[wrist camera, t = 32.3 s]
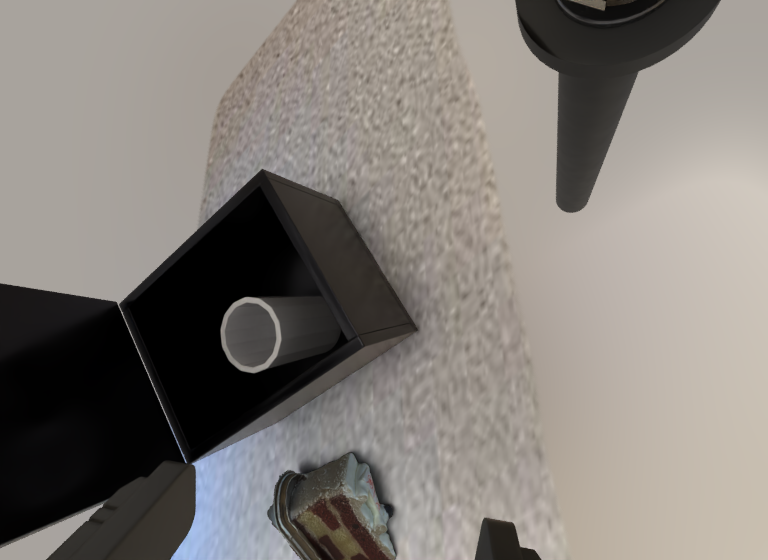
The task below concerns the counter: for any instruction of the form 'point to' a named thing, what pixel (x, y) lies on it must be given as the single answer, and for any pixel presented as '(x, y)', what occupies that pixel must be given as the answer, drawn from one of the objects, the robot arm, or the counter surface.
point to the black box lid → (71, 409)
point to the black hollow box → (253, 279)
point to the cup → (277, 331)
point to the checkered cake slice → (332, 513)
